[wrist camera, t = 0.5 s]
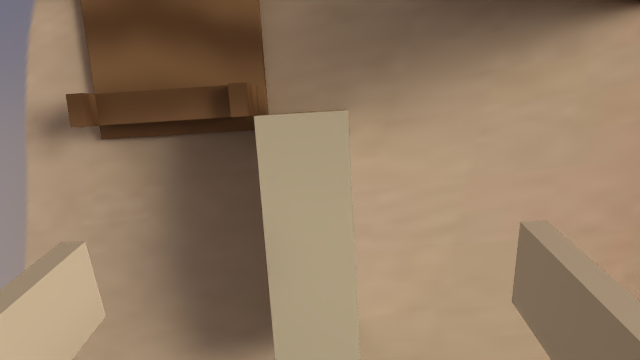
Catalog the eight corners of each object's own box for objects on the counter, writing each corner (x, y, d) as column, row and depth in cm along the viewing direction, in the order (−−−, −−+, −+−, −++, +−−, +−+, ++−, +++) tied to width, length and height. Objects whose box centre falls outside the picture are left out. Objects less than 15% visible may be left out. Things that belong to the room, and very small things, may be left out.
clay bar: (355, 317, 33) (361, 384, 25) (291, 319, 33) (277, 386, 25) (345, 109, 30) (347, 110, 22) (275, 113, 30) (253, 116, 22)
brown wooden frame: (269, 128, 30) (256, 132, 25) (107, 138, 31) (66, 144, 26) (251, -84, 28) (234, -123, 23) (76, -69, 28) (24, -104, 24)
